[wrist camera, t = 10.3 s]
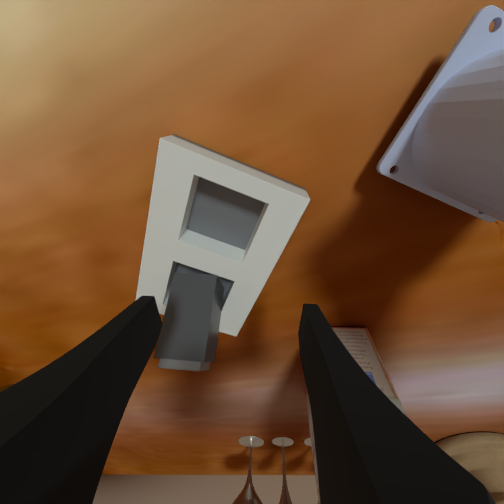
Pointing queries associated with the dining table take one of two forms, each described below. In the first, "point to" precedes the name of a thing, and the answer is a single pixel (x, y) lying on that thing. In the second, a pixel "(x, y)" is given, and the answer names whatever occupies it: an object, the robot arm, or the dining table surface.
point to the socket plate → (215, 225)
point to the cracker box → (369, 361)
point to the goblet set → (248, 498)
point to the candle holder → (480, 458)
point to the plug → (191, 323)
